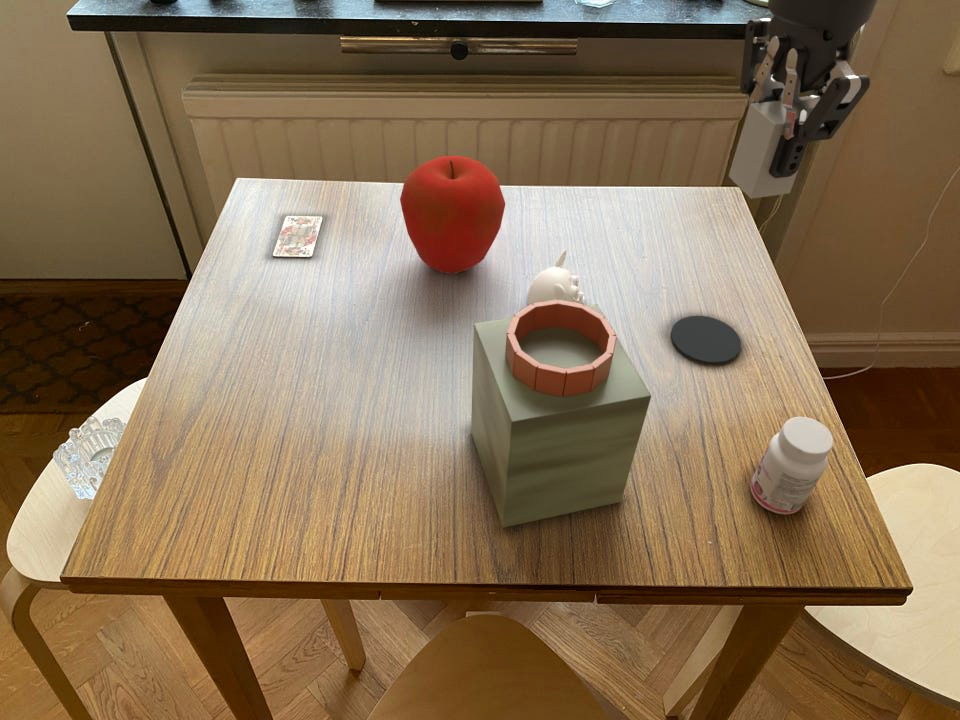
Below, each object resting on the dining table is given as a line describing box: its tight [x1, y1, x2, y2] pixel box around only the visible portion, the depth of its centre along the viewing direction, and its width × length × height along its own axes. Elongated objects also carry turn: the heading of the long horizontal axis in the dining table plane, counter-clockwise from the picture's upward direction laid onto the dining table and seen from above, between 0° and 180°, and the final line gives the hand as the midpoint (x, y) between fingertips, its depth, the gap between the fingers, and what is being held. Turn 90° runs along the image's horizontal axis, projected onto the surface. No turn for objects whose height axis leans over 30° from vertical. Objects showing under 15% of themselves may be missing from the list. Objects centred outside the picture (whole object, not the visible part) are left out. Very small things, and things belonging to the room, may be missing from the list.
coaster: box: [670, 315, 742, 366], centre depth 78 cm, size 8×8×1 cm
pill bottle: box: [750, 416, 834, 515], centre depth 61 cm, size 5×5×8 cm
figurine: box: [526, 249, 586, 307], centre depth 79 cm, size 8×6×7 cm
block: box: [728, 100, 808, 199], centre depth 62 cm, size 4×4×7 cm
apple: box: [399, 155, 506, 274], centre depth 82 cm, size 12×12×14 cm
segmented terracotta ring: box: [505, 300, 618, 397], centre depth 55 cm, size 8×8×2 cm
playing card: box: [272, 215, 323, 258], centre depth 90 cm, size 9×5×1 cm, turn 0°
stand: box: [470, 303, 652, 528], centre depth 61 cm, size 11×11×14 cm
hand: (766, 161), depth 63 cm, fingers closed on block, 4 cm apart
